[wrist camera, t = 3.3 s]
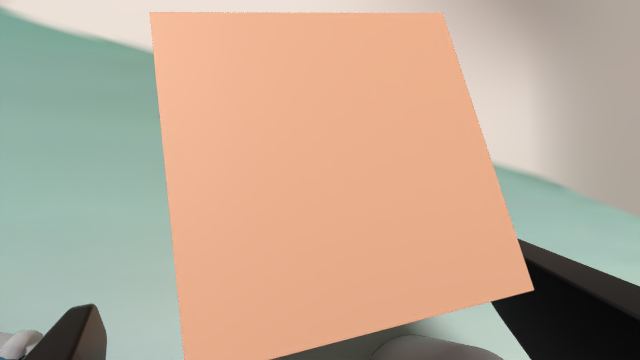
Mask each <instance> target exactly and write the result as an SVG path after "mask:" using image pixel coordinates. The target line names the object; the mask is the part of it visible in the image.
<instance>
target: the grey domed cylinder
mask: <svg viewBox="0 0 640 360" xmlns="http://www.w3.org/2000/svg"><path fill="white" fill-rule="evenodd" d="M369 360H503V359H502V358H501V357H499V356H497V355H496V354H494V353H492V352H490V351H488V350H485V349H482V348H478V347H474V346H469V345H464V344H459V343H454V342H449V341H444V340H439V339H434V338H429V337H424V336H419V335H404V336H399V337H396V338H393V339H391V340H389V341H387V342H386V343H384V344H383V345H382V346H380V347H379V348H378V349H377V350H376V351H375V352H374V353H373V355H372V356H371V357H370V359H369Z"/></svg>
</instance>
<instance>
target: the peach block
mask: <svg viewBox="0 0 640 360" xmlns="http://www.w3.org/2000/svg"><path fill="white" fill-rule="evenodd" d="M150 21H151V31H152V41H153V51H154V61H155V71H156V81H157V91H158V101H159V111H160V121H161V131H162V141H163V151H164V161H165V171H166V181H167V191H168V201H169V211H170V221H171V231H172V241H173V251H174V261H175V271H176V281H177V291H178V301H179V311H180V321H181V331H182V341H183V351H184V360H270V359H274V358H278V357H282V356H286V355H289V354H293V353H297V352H301V351H305V350H308V349H312V348H316V347H320V346H324V345H327V344H331V343H335V342H339V341H343V340H346V339H350V338H354V337H358V336H362V335H365V334H369V333H373V332H377V331H381V330H384V329H388V328H392V327H396V326H400V325H403V324H407V323H411V322H415V321H419V320H422V319H426V318H430V317H434V316H438V315H441V314H445V313H449V312H453V311H457V310H460V309H464V308H468V307H472V306H476V305H479V304H483V303H487V302H491V301H495V300H498V299H502V298H506V297H510V296H514V295H517V294H521V293H525V292H529V291H533V290H534V288H533V285H532V282H531V279H530V276H529V273H528V270H527V267H526V263H525V260H524V257H523V254H522V251H521V248H520V245H519V242H518V239H517V236H516V233H515V230H514V227H513V224H512V221H511V218H510V215H509V212H508V209H507V206H506V203H505V200H504V197H503V194H502V191H501V188H500V185H499V182H498V179H497V176H496V173H495V170H494V167H493V164H492V161H491V158H490V155H489V152H488V149H487V146H486V143H485V140H484V137H483V134H482V131H481V128H480V125H479V122H478V119H477V116H476V113H475V110H474V107H473V104H472V101H471V98H470V95H469V92H468V89H467V86H466V83H465V80H464V77H463V74H462V70H461V68H460V64H459V61H458V58H457V55H456V53H455V49H454V47H453V44H452V40H451V37H450V34H449V31H448V28H447V25H446V22H445V20H444V16H443V13H191V12H190V13H189V12H188V13H185V12H180V13H179V12H178V13H177V12H175V13H174V12H171V13H170V12H162V13H161V12H160V13H159V12H158V13H157V12H153V13H151V12H150Z"/></svg>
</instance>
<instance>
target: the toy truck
mask: <svg viewBox="0 0 640 360" xmlns="http://www.w3.org/2000/svg"><path fill="white" fill-rule="evenodd" d="M42 338H43V334H41V333H39V332H38V331H34V330H28V331H20V332H18V333H16V334H15V335H13V334H8V333H3V332H0V360H22V359H23V358H24V357H25V356H26V355H27V354H28V353H29V352H30V351H31V350H32V349H33V347H34V346H35V345H36V344H37V343H38V342H39V341H40V340H41V339H42Z"/></svg>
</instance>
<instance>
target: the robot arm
mask: <svg viewBox="0 0 640 360" xmlns="http://www.w3.org/2000/svg"><path fill="white" fill-rule="evenodd" d="M518 242H519V245H520V248H521V251H522V254H523V257H524V260H525V263H526V267H527V270H528V273H529V276H530V279H531V282H532V285H533V288H534V290H533V291H529V292H525V293H521V294H517V295H514V296H510V297H506V298H502V299H498V300H495V301H491V303H492V305H493V306H494V308H495V310H496V311H497V313H498V314H499V316H500V317H501V318H502V320H503V321H504V323H505V324H506V325H507V327H508V328H509V330H510V331H511V332H512V334H513V335H514V336H515V338H516V339H517V341H518V342H519V343H520V345H521V346H522V348H523V349H524V350H525V352H526V353H527V354H528V356H529V357H530V359H531V360H640V286H637V285H635V284H632V283H629V282H627V281H624V280H622V279H619V278H617V277H614V276H612V275H609V274H606V273H604V272H601V271H599V270H596V269H594V268H591V267H589V266H586V265H584V264H581V263H578V262H576V261H573V260H571V259H568V258H566V257H563V256H561V255H558V254H556V253H553V252H550V251H548V250H545V249H543V248H540V247H538V246H535V245H533V244H530V243H527V242H525V241H522V240H520V239H518ZM106 346H107V335H106V330H105V327H104V325H103V322H102V319H101V317H100V314H99V311H98V309H97V307H96V306H95V305H94V304H87V305H81V306H76V307H73V308H71V309H69V310H68V311H67V312H66V313H65V314H64V315H63V316H62V317H61V318H60V319H59V321H58V322H57V323H56V324H55V325H54V326H53V327H52V328H51V329H50V330H49V331H48V332H47V333H46V335H45V336H44V337H43V338H42V339H41V340H40V341H39V342H38V343H37V344H36V345H35V346H34V347H33V349H32V350H31V351H30V352H29V353H28V354H27V355H26V356H25V357H24V358H23V359H22V360H106Z"/></svg>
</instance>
